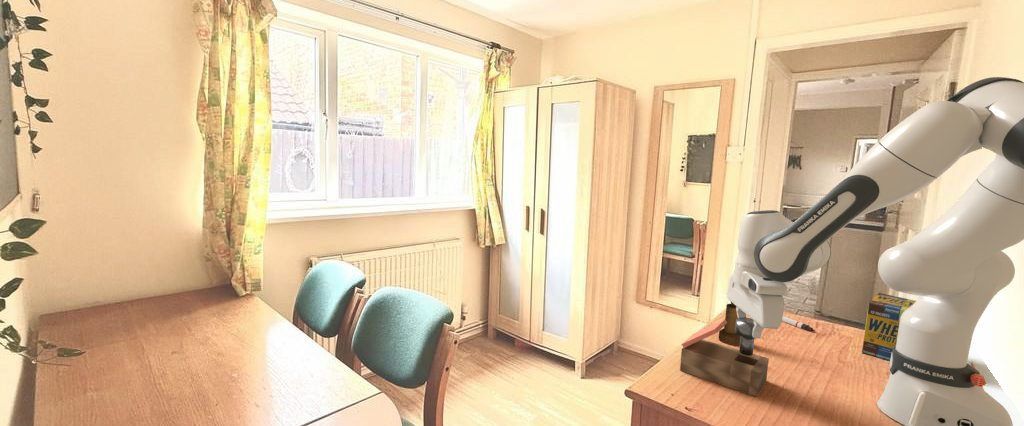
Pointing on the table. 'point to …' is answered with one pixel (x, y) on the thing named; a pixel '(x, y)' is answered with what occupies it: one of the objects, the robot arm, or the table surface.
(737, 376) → the block
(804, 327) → the marker
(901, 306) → the protein box
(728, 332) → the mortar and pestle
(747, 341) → the grey domed cylinder
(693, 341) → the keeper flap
